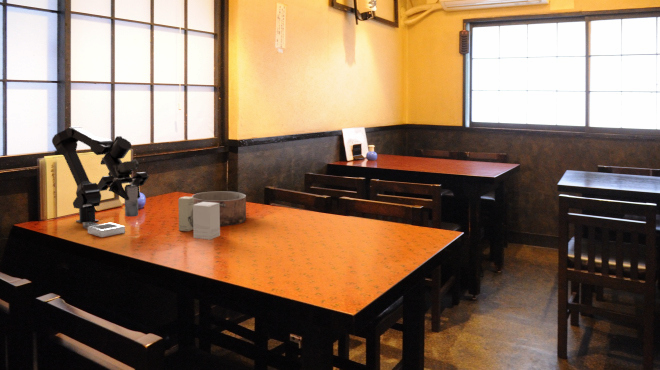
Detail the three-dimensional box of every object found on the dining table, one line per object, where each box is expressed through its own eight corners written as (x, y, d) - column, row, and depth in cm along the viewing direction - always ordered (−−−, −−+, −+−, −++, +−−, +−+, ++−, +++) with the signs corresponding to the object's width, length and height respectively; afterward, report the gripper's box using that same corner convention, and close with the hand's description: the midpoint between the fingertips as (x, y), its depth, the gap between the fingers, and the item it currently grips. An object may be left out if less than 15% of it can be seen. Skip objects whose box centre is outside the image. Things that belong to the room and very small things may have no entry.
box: (188, 231, 207) (188, 198, 205) (178, 230, 207) (177, 198, 205) (194, 228, 212) (194, 196, 210) (184, 227, 212) (184, 196, 210)
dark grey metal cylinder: (122, 215, 202) (121, 185, 200) (133, 213, 205) (132, 183, 204) (130, 217, 199) (129, 186, 197) (140, 215, 203) (140, 185, 201)
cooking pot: (207, 212, 243) (207, 189, 242) (254, 214, 240) (254, 191, 239) (179, 227, 214) (179, 200, 212) (233, 230, 211) (233, 203, 209)
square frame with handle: (73, 228, 206) (73, 222, 206) (96, 224, 214) (96, 218, 214) (101, 237, 195) (101, 230, 195) (125, 232, 203) (124, 226, 202)
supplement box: (220, 235, 202) (220, 202, 200) (210, 240, 195) (209, 206, 193) (203, 233, 204) (203, 201, 202) (192, 238, 197) (192, 204, 196)
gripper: (100, 154, 193) (119, 188, 189) (145, 151, 208) (163, 182, 204) (89, 173, 199) (107, 207, 194) (133, 169, 214) (151, 200, 209)
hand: (133, 198), depth 200 cm, fingers closed on dark grey metal cylinder, 5 cm apart
